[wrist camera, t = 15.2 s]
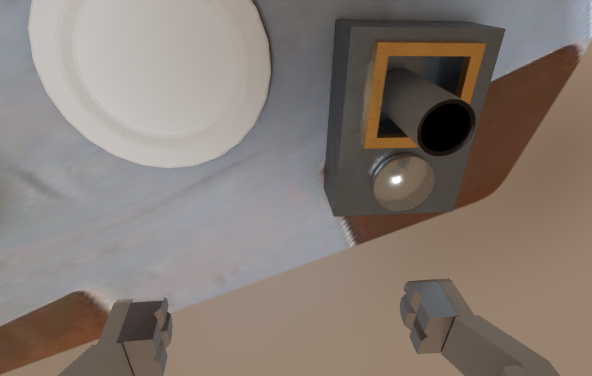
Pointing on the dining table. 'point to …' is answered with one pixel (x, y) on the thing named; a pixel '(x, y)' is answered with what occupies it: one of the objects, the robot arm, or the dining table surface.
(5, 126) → the dining table surface
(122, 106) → the plate
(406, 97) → the grey cylinder
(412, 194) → the grey box with knob
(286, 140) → the dining table surface
